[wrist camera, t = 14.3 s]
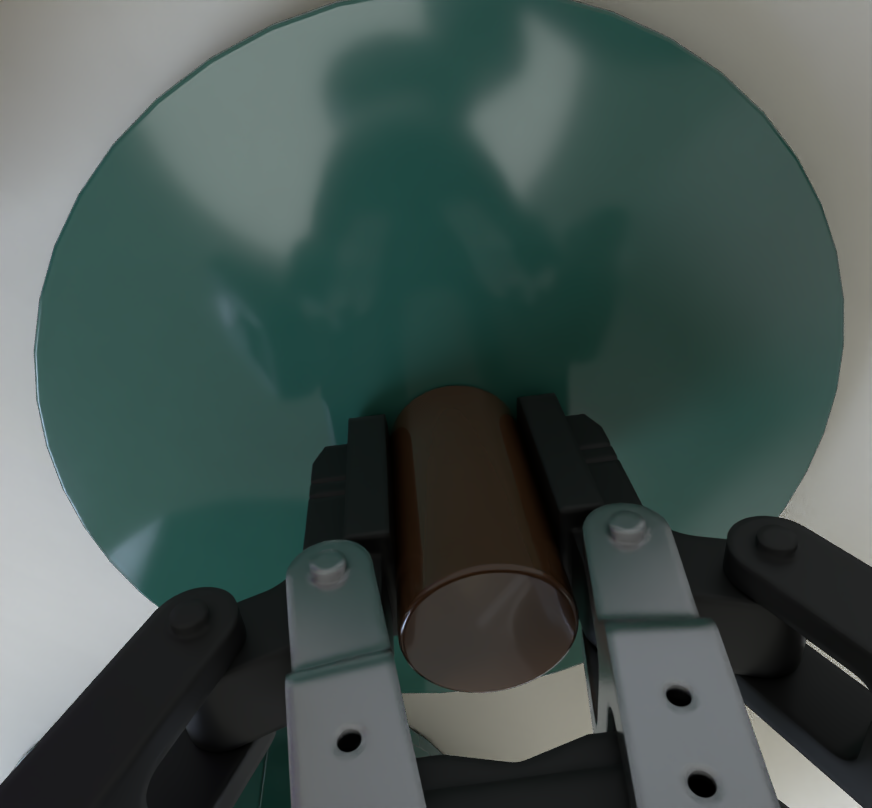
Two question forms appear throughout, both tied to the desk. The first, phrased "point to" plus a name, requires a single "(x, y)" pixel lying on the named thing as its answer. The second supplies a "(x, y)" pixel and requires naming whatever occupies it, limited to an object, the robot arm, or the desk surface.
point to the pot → (270, 783)
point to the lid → (435, 308)
